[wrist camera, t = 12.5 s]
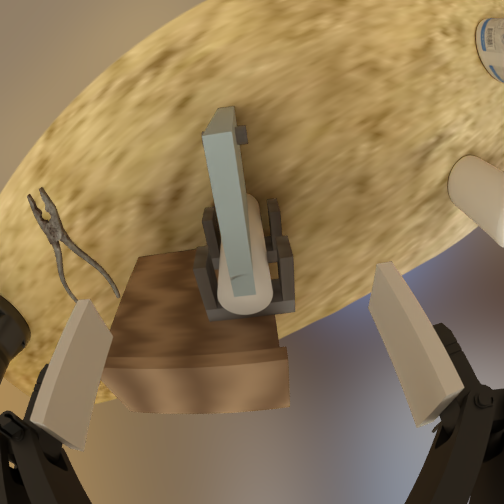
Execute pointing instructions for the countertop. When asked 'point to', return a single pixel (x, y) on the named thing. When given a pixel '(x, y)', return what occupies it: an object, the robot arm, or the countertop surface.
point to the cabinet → (199, 334)
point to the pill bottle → (479, 194)
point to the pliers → (57, 232)
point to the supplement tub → (491, 46)
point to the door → (236, 219)
